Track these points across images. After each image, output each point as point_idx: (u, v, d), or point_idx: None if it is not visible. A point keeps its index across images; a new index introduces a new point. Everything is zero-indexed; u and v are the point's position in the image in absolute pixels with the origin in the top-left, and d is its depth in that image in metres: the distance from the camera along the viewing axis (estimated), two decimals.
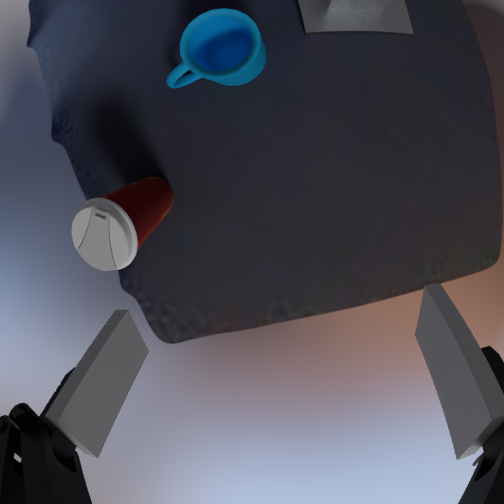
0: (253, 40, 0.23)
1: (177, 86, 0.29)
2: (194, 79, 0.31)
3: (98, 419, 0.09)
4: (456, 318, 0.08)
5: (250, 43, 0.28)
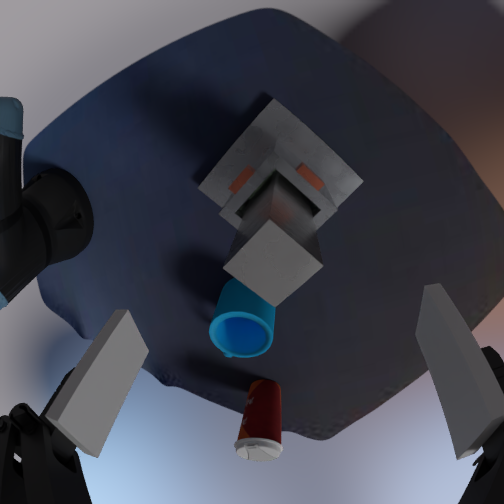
0: (261, 324, 0.35)
1: None
2: None
3: (98, 419, 0.09)
4: (456, 318, 0.08)
5: None
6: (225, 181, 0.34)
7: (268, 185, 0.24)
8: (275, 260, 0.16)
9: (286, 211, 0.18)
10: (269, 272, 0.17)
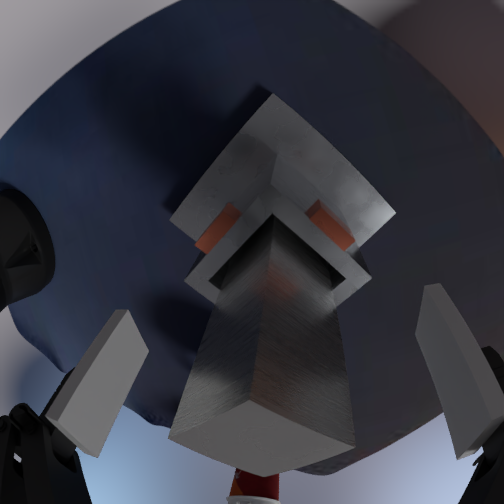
0: None
1: None
2: None
3: (98, 419, 0.09)
4: (456, 318, 0.08)
5: None
6: (205, 211, 0.25)
7: (261, 240, 0.15)
8: (264, 444, 0.07)
9: (291, 325, 0.09)
10: (253, 453, 0.07)
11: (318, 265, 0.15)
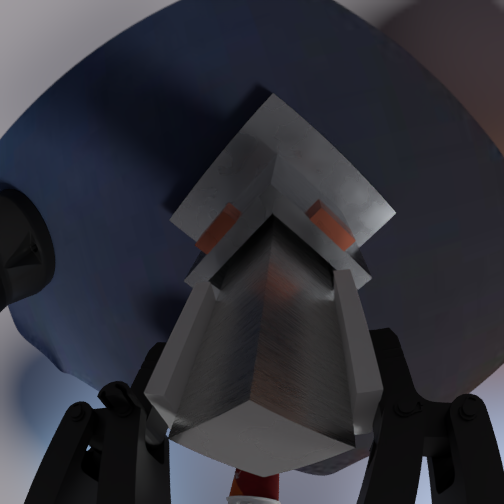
0: None
1: None
2: None
3: None
4: (353, 299, 0.11)
5: None
6: (205, 211, 0.25)
7: (261, 240, 0.15)
8: (264, 444, 0.07)
9: (291, 325, 0.09)
10: (253, 453, 0.07)
11: (318, 265, 0.15)
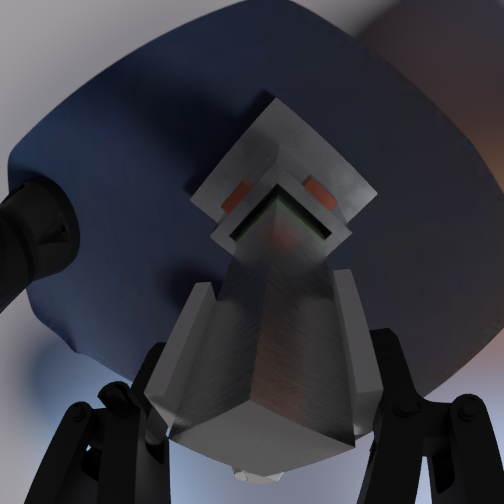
0: None
1: None
2: None
3: None
4: (352, 299, 0.11)
5: None
6: (220, 192, 0.30)
7: (261, 240, 0.15)
8: (264, 444, 0.07)
9: (291, 325, 0.09)
10: (253, 453, 0.07)
11: (318, 265, 0.15)
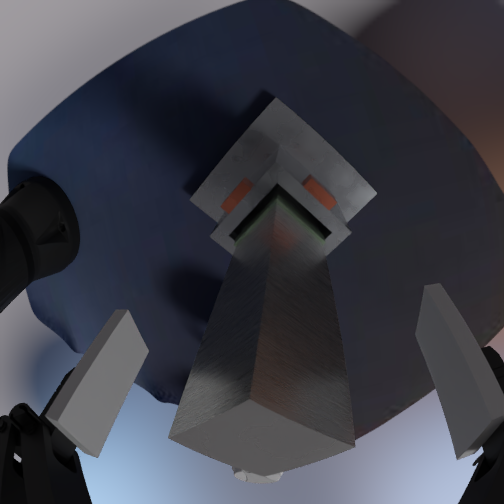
0: None
1: None
2: None
3: (98, 419, 0.09)
4: (456, 318, 0.08)
5: None
6: (220, 192, 0.30)
7: (261, 239, 0.15)
8: (264, 443, 0.07)
9: (291, 325, 0.09)
10: (253, 453, 0.07)
11: (318, 265, 0.15)
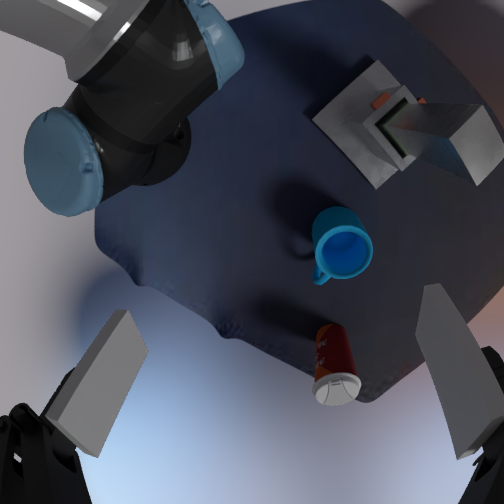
0: (365, 240, 0.37)
1: None
2: None
3: (98, 419, 0.09)
4: (456, 318, 0.08)
5: None
6: (336, 116, 0.37)
7: (419, 108, 0.21)
8: (483, 140, 0.13)
9: None
10: (478, 150, 0.14)
11: None
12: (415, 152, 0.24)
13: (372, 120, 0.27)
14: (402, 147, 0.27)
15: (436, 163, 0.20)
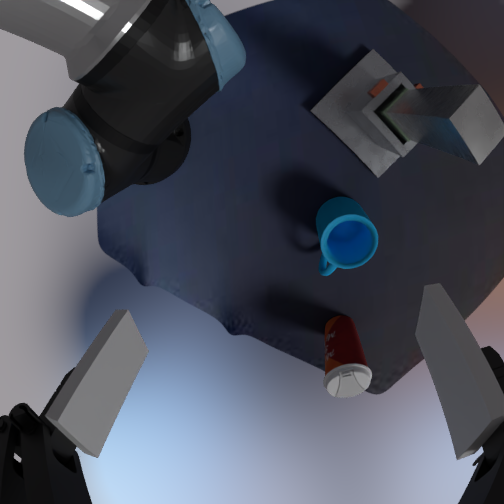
0: (370, 229, 0.37)
1: (325, 269, 0.46)
2: None
3: (98, 419, 0.09)
4: (456, 318, 0.08)
5: None
6: (335, 106, 0.36)
7: (417, 93, 0.21)
8: (482, 119, 0.13)
9: None
10: (479, 129, 0.13)
11: None
12: (415, 137, 0.23)
13: (371, 107, 0.27)
14: (402, 133, 0.26)
15: (437, 146, 0.20)
